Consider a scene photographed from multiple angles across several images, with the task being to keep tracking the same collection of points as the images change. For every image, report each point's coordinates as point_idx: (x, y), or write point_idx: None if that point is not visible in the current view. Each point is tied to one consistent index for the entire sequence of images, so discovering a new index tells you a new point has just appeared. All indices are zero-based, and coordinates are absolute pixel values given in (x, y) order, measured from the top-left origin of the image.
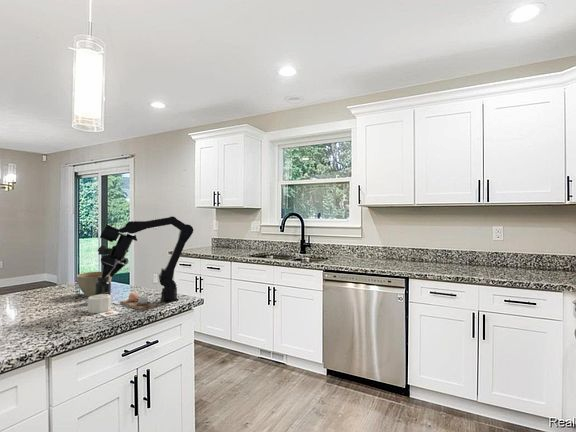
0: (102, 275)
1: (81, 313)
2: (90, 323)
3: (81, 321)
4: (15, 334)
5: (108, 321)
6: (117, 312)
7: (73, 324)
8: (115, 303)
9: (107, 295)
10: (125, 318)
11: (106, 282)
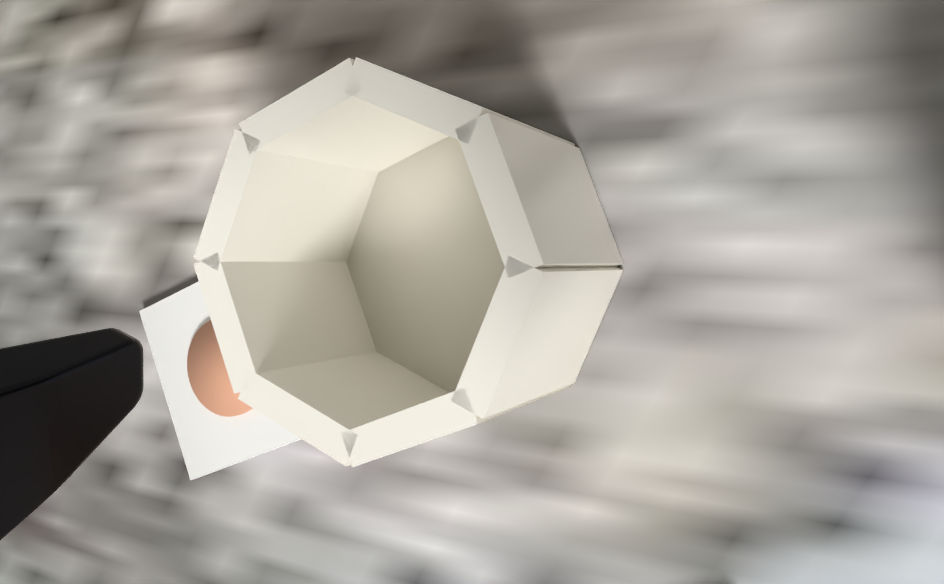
0: (36, 352)
1: (417, 29)
2: (24, 164)
3: (110, 72)
4: None
5: (13, 327)
6: (219, 459)
7: (56, 6)
8: (801, 547)
9: (414, 407)
10: None
11: None
